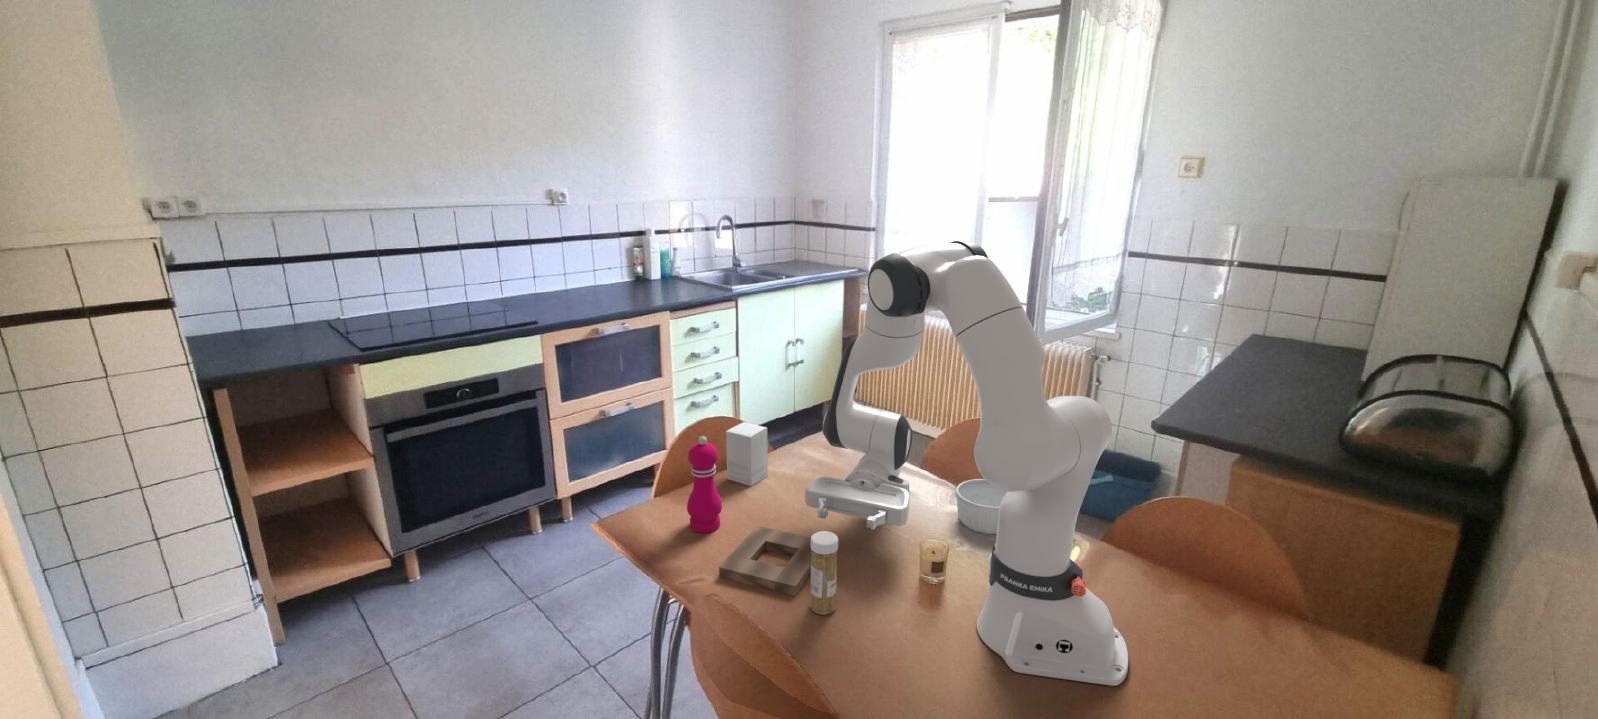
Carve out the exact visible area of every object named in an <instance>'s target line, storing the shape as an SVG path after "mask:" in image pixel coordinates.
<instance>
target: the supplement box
mask: <svg viewBox="0 0 1598 719" xmlns="http://www.w3.org/2000/svg"><path fill="white" fill-rule="evenodd" d="M725 443H726V444H725V446H726V448H725V449H726V450H725V451H726V477H727V480H729V481H731V482H736V483H740V484H741V485H742V484H743V485H746V486H749V487H752V486H754V485H755V484H757V483H758V482H760V481H762V480H763V479H764V478H766V477H767V476H768V475H769V471H768V470H769V468H768V467H769V466H768V465H769V464H768V461H769V460H768V454H769V452H768V427H766V426H762V425H757V424H753V423H749V422H745V421H743V422H741V423H738V424H737V425H735V426H733V427H731V428H729V429H727V430H726V431H725Z"/></svg>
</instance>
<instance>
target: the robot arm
mask: <svg viewBox="0 0 1598 719" xmlns="http://www.w3.org/2000/svg"><path fill="white" fill-rule="evenodd" d="M867 292H868V299H867V304H866V310H865V318H864V327H863V329H862V332H861V333H860V335H858V336H855V337H853V338H851V340H850V341H849V342H848V344H847V346H846V347H845V350H844V352H843V354H842V357H841V361H840V365H839V368H838V371H837V375H836V379H835V382H834V383H835V384H834V386H833V391H832V395H831V398H830V400H829V401H830V402H829V405H828V408H827V411H826V413H825V415H824V419H823V422H822V430H821V431H822V434H823V436H824V438H825V439H826V441H827V442H828V443H829V444H830V446H831V447H834V448H839V449H845V450H846V449H847V450H848V449H849V450H852V451H856V452H859V453H863V455H862V456H861V458H859V460H858V462H857V464H856V465H855V466H854V467H853V468H852V470H851V471H850V473H849V474H848V475H847V476H846V477H845V480H844V479H839V478H834V477H828V476H821V477H818V478H816V479H814V480H813V481H812V482H810V483H809V485H808V486H806V488H805V493H804V501H805V505H806V506H807V507H811V508H815V509H817V512H816V513H817V518H820V519H826V518H827V517H828V515H829V514H828V513H829V512H833V513H839V514H843V515H848V516H851V517H857V518H861V519H865V520H866V522H865V523H866V526H865V528H866V529H870V530H873V531H874V530H876V528H877V527H879V526H882V525H884V524H888V525H892V526H896V527H901V526H906V524H907V523H908V520H909V511H910V498H911V496H910V482H909V481H908V480H907V479H903V478H901V477H899V476H900V473H901V470H902V466H904V464H905V463H906V461H907V460H908V457H909V455H910V452H911V447H912V442H913V429H912V427H911V424H910V423H909V421H908V419H907V418H906V417H905V416H904V415H903V414H900V413H896V412H894V411H893V412H892V411H888V410H885V409H879V408H875V407H871V406H867V405H863V404H861V403H857V402H856V401H855V400H854V395H855V393H856V392H855V390H856V388H857V383H858V381H859V378H860V377H859V376H860V375H863V374H864V373H869V372H875V371H886V370H892V369H896V368H898V367H899V368H900V367H901V366H903V365H905V364H907V363H908V362H910V361H912V359H913V358H914V357H916V355H917V354H918V353H919V350H920V347H921V344H922V341H923V336H924V329H925V322H926V321H925V320H926V319H925V318H926V313H928V312H933V311H935V312H936V311H940V312H942V313H943V314H944V316H945V317H946V320H947V321H948V324H949V327H950V329H951V331H952V333H953V336H954V338H955V340H956V342H957V344H958V347H959V349H960V351H961V353H962V356H963V358H964V360H965V362H966V365H967V367H968V369H969V372H970V374H971V377H972V380H973V382H974V384H975V385H974V386H975V389H976V393H977V397H978V405H979V414H980V415H979V418H980V421H979V422H980V423H979V424H980V425H979V431H978V434H977V436H976V440H975V441H974V447H973V457H974V462H975V464H976V468H977V469H978V471H979V473H980V475H981V476H982V478H983V479H985V480H986V481H987V482H988V483H989V484H991V485H992V486H993V487H995V488H997V489H999V490H1002V491H1007V493H1006V495H1005V496H1004V498H1003V499H1002V501H1001V504H1000V507H999V515H998V524H997V534H995V544H994V545H993V547H992V551H991V553H990V556H989V557H990V559H989V568H988V578H989V579H988V582H989V586H988V590H987V594H986V598H985V601H984V604H983V607H982V610H981V611H980V614H979V615H978V617H977V619H976V620H977V621H976V629H977V633H978V635H979V637H980V638H981V640H982V641H983V643H984V644H985V645H986V646H987V647H989V648H990V649H991V650H992V651H993V652H995V653H997V655H998V656H1000V657H1002V659H1003V660H1004V661H1005V663H1006V665H1008V667H1009V668H1010V669H1011V670H1012V671H1014V672H1016V673H1018V674H1019V673H1020V674H1025V675H1033V676H1041V677H1047V678H1055V679H1063V680H1070V681H1076V682H1083V683H1090V684H1098V685H1106V686H1112V687H1113V686H1116V687H1117V686H1119V685H1120V684H1121V683H1122V682H1123V681H1124V680H1125V679H1126V677H1127V675H1128V670H1129V653H1128V652H1129V651H1128V647H1127V644H1126V641H1125V639H1124V637H1123V636H1122V634H1121V633H1120V631H1119V630H1118V629H1117V628H1116V627H1115V625H1114V622H1113V618H1112V615H1111V613H1110V612H1111V611H1110V610H1109V608H1108V606H1107V605H1106V604H1105V602H1104V601H1103V600H1101V599H1100V597H1098V596H1097V595H1095V594H1094V593H1093V592H1092V591H1091V590H1089V589H1088V588H1087V587H1086V586H1087V585H1086V584H1087V583H1086V581H1084V580H1083V574H1084V571H1083V569H1082V568H1081V562H1080V559H1079V558H1078V559H1077V560H1076V562H1075V561H1073V559H1072V558H1071V556H1072V551H1073V550H1072V548H1073V542H1074V536H1075V531H1076V530H1075V529H1076V524H1077V520H1078V516H1079V513H1080V509H1081V506H1082V504H1083V501H1084V498H1085V496H1086V494H1087V491H1088V488H1089V486H1090V482H1091V480H1092V477H1093V475H1094V472H1095V469H1096V467H1097V464H1098V462H1099V459H1100V457H1101V456H1102V454H1103V452H1104V450H1106V447H1107V446H1108V445H1109V443H1110V441H1111V439H1112V435H1113V427H1112V426H1113V425H1112V421H1111V418H1110V416H1109V413H1108V412H1107V410H1106V409H1105V408H1104V407H1103V406H1102V405H1101V404H1100V403H1099V402H1098V401H1097V400H1095V399H1093V398H1090V397H1088V396H1082V395H1061V396H1060V395H1059V396H1055V397H1052V398H1049V399H1047V397H1046V395H1045V394H1046V393H1045V389H1044V384H1043V376H1042V374H1043V373H1042V372H1043V367H1044V365H1045V361H1046V353H1045V352H1046V351H1045V349H1044V348H1043V345H1042V343H1041V340H1040V339H1039V337H1038V335H1037V333H1036V331H1035V329H1034V327H1033V325H1032V323H1031V321H1030V319H1029V316H1028V315H1027V313H1026V311H1025V309H1024V307H1023V305H1022V303H1021V301H1020V299H1019V297H1018V296H1017V293H1016V292H1015V290H1014V289H1013V288H1012V286H1011V284H1010V282H1009V281H1008V279H1007V278H1006V277H1005V275H1004V274H1003V272H1002V271H1001V270H1000V268H999V267H998V266H997V265H996V264H995V262H994V261H993V260H991V259H990V258H989V256H988V254H987V252H986V251H985V249H983V247H982V246H980V244H978V243H976V242H974V241H973V242H972V241H966V240H954V241H951V242H949V243H938V244H936V243H935V244H930V245H921V246H917V247H912V248H910V249H907V250H906V249H905V250H904V251H901V252H899V253H890V254H888V255H886V256H883V257H882V258H880V259H878V260H877V261H875V262H874V263H873V264H872V265H871V267H870V269H869V272H868V276H867ZM828 511H829V512H828Z"/></svg>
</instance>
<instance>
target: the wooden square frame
mask: <svg viewBox="0 0 1598 719" xmlns="http://www.w3.org/2000/svg"><path fill="white" fill-rule="evenodd" d="M765 551H769V552H773V553H778V554H782V555H785V556H790V557H791V558H790V559H789V561H788V562H787V564H786V565H785V567H784V566H779V565H775V564H771V563H768V562H763V561H758V560H759V559H760V557H761V556H762V555H763V554H764V553H765ZM811 556H812V551H811V537H809V536H804V535H800V534H795V533H792V532H786V531H782V530H777V529H775V528H774V529H773V528H768V527H763V526H759V525H756V526H755V527H754V529H752V531H751V532H749V534H748V535H747V536H746V537H745V538H744V539H743V540H742V541H741V542H740V544H739V545H738V546H737V547H736V548H735V549H734V550H733V552H731V553H730V555H728V556H727V558H726V559H725V560H724V561H723V562H722V563H721V564H720V566H718V567H719V568H718V571H719V572H718V574H719V575H718V576H719V577H720V578H723V579H726V580H727V579H728V580H730V581H735V582H739V583H742V584H746V585H750V586H755V587H758V588H762V589H765V590H769V591H773V592H777V593H781V594H784V595H789V596H793V597H796V596H797V594H798V593H799V591H800V590H801V588H802V587H803V586H804V584H805V583H806V582H807V580H808V578H809V576H811V558H812V557H811Z"/></svg>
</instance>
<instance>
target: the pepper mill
mask: <svg viewBox="0 0 1598 719" xmlns="http://www.w3.org/2000/svg"><path fill="white" fill-rule="evenodd" d="M697 440H698V442H697V443H695V444H693V445H692V446H691V447H690V448H689V451H688V453H687V459H688V462H689V464H691V466H690V469H691V471H690V473H691V475H692V476H693V486H692V490H691V493H690V495H689V497H688V499H687V503H686V512H687V514H688V515H689V516H690V518H689V528H690V529H691V530H692V531H694V532H695V533H700V534H708V533H713V532H716V531H717V530H718V529H719V528H720V526H721V516H720V515H721V512H722V510H723V501H722V499H721V498H722V497H721V495H720V494H719V492H718V490H717V487H716V484H715V479H714V477H715V474H716V472H717V470H716V468H717V466H716V463H717V461H718V459H719V458H718V457H719V453H718V450H717V447H716V446H715V445H714V444H713V443H710V442H708V439H707V437H706V436H705V435H702V436H699V437H698V439H697Z"/></svg>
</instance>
